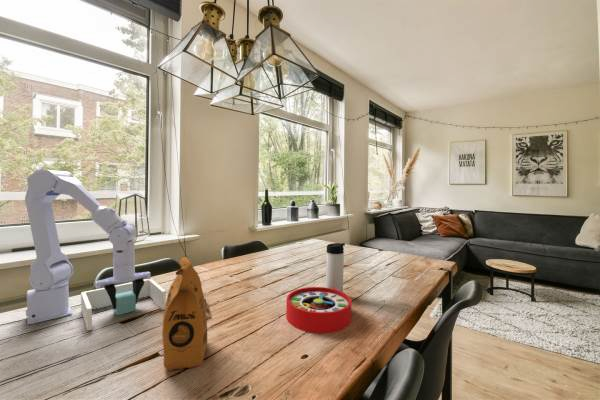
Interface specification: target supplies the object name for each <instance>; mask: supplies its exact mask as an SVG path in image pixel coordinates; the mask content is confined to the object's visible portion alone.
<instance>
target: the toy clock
mask: <svg viewBox="0 0 600 400" xmlns="http://www.w3.org/2000/svg"><path fill="white" fill-rule="evenodd" d="M285 304H286V305H285V306H286V308H285V309H286V311H285V312H286V314H285V316H286V321H287V322H288V323H289V324H290V325H291V326H292V327H294V328H295V329H297V330H300V331H303V332H306V333H312V334H330V333H337V332H339V331H342V330H344V329H346V328H347V327H349V325H350V324H351V323H352V298H351V297H350V296H349V295H348V294H347V293H345V292H344V291H343V292H341V291H338V290H335V289H331V288H326V286H325V287H323V286H309V287H301V288H299V289H295V290H293V291H291V292H290V293H288V295H287V296H286V303H285Z"/></svg>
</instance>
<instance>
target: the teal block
mask: <svg viewBox="0 0 600 400" xmlns="http://www.w3.org/2000/svg"><path fill="white" fill-rule="evenodd" d="M136 307H137V306H136V295H135V294H134V293H133V291H128V292H123V293H119V294H116V309H113V311H114V313H115V314H116V316H121V315H125V314H128V313H131V311H132V312H136V311H137V308H136ZM124 313H125V314H124Z"/></svg>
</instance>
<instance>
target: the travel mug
mask: <svg viewBox="0 0 600 400" xmlns="http://www.w3.org/2000/svg"><path fill="white" fill-rule="evenodd" d="M345 246H346V244H345V243H344V242H342V243H340V242H335V243H329V244H327V245H326V252H325V253H326V259H325V261H326V262H325V288H331V289H335V290H338V291H341V292H343V293H344V266H345V265H344V258H345V253H344V252H345V248H344V247H345Z"/></svg>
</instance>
